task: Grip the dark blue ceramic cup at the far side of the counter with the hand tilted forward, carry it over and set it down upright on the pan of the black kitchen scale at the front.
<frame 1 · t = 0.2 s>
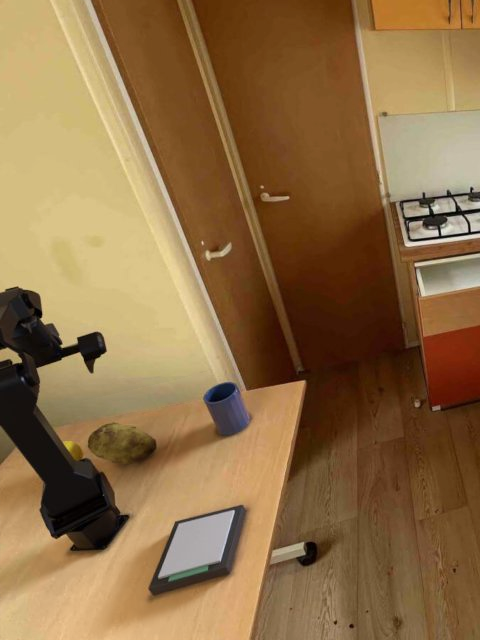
hand: (66, 381, 98), 15 cm above the table, tool pointing down, fingers open, 9 cm apart
potato: (129, 455, 99), on the table
scale: (203, 550, 81), on the table
lemon: (73, 468, 96), on the table
cup: (234, 424, 107), on the table
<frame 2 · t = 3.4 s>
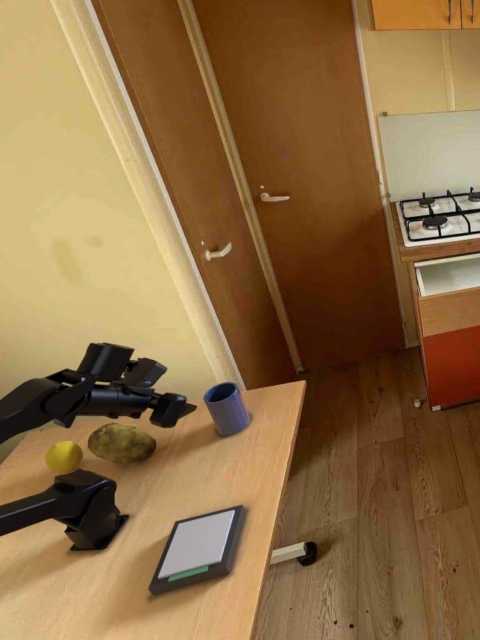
hand: (180, 402, 95), 14 cm above the table, tool tilted 45°, fingers open, 9 cm apart
nothing on the table moved.
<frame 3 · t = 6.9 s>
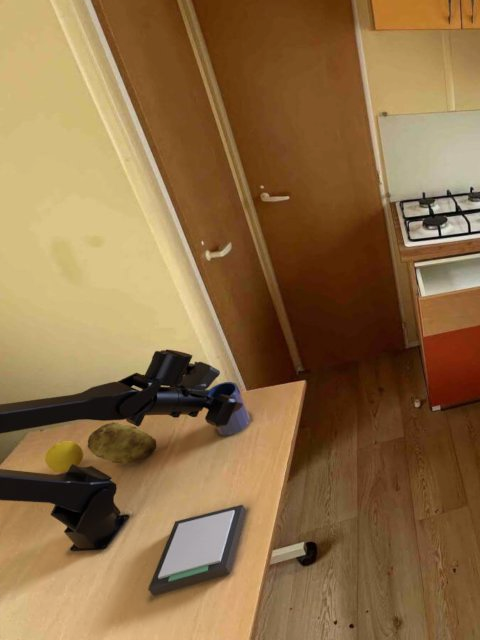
hand: (231, 401, 105), 7 cm above the table, tool tilted 45°, fingers closed on cup, 7 cm apart
cup: (234, 424, 107), on the table, touching gripper
everything else where it was.
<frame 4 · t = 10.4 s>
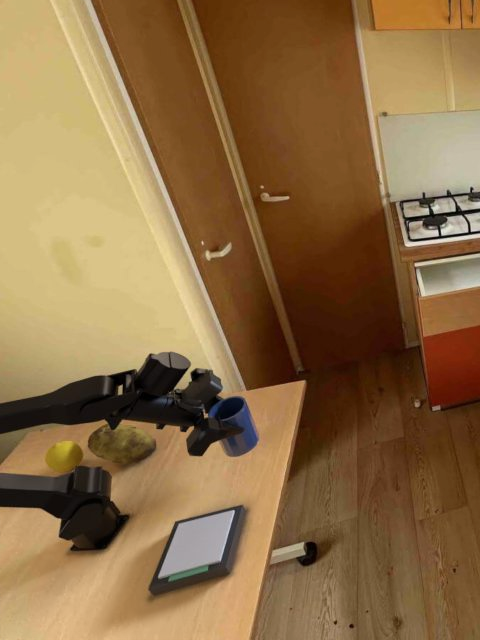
hand: (240, 419, 92), 13 cm above the table, tool tilted 45°, fingers closed on cup, 7 cm apart
cup: (242, 443, 95), point 6 cm above the table, touching gripper
everything else where it was.
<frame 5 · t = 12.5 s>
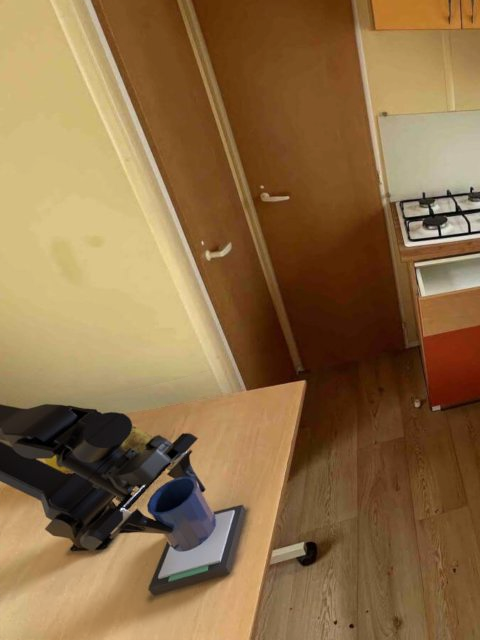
hand: (188, 511, 75), 12 cm above the table, tool tilted 45°, fingers closed on cup, 7 cm apart
cup: (194, 531, 78), point 6 cm above the table, touching gripper
everything else where it was.
when the fingers open (10 cm above the table, at t = 14.2 s): cup stays where it is, resting on scale.
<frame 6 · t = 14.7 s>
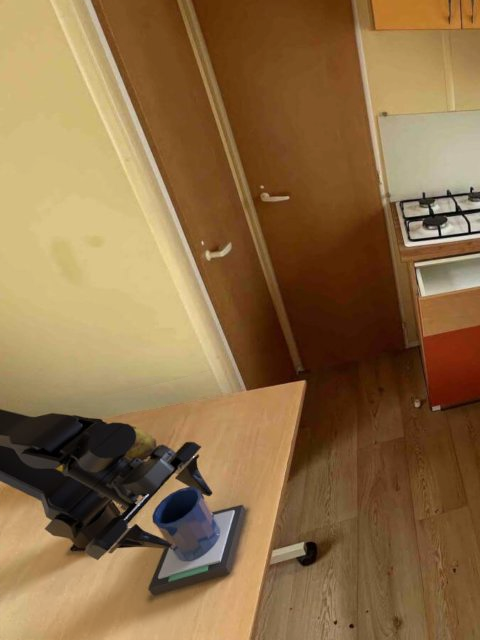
hand: (191, 519, 76), 10 cm above the table, tool tilted 45°, fingers open, 9 cm apart
cup: (198, 541, 79), point 3 cm above the table, touching scale
everything else where it was.
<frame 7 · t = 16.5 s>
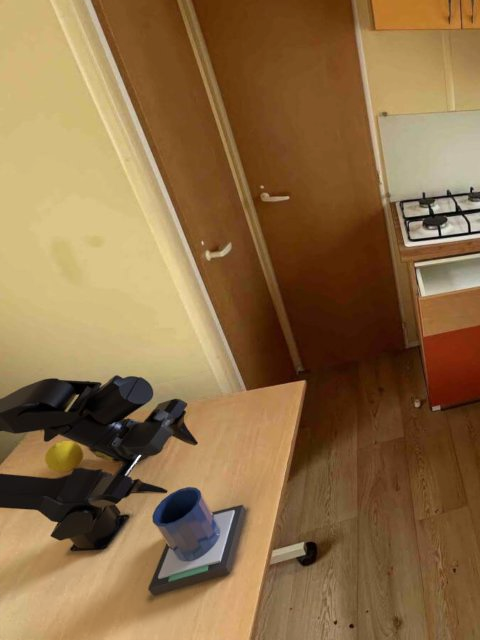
hand: (181, 467, 83), 12 cm above the table, tool tilted 30°, fingers open, 9 cm apart
nothing on the table moved.
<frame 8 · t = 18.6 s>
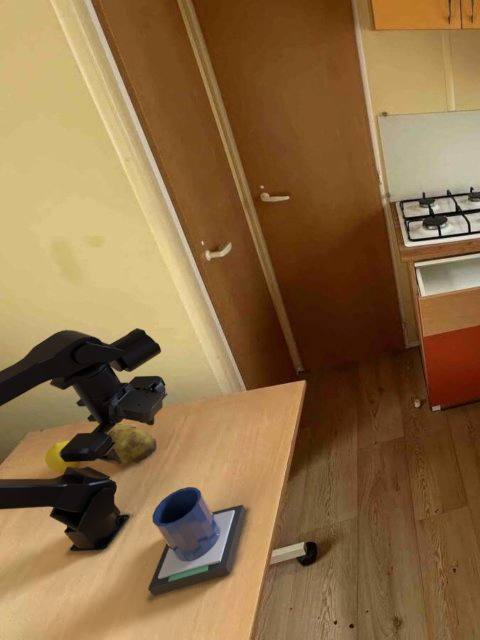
hand: (135, 443, 87), 13 cm above the table, tool pointing down, fingers open, 9 cm apart
nothing on the table moved.
at the end: cup inside the target area on the scale (0.0 cm from its centre), point 3.0 cm above the scale's base; cup tilted 0°; the gripper is holding nothing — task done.
